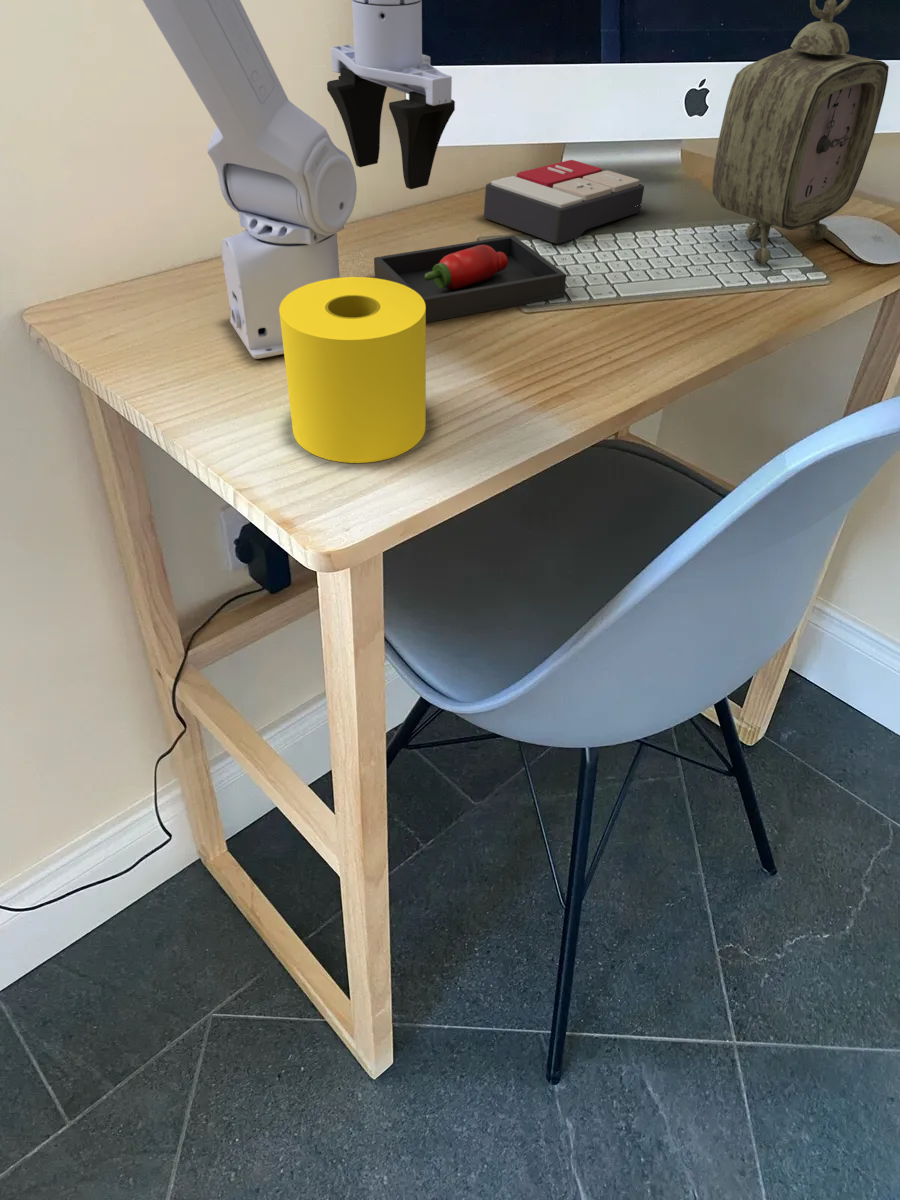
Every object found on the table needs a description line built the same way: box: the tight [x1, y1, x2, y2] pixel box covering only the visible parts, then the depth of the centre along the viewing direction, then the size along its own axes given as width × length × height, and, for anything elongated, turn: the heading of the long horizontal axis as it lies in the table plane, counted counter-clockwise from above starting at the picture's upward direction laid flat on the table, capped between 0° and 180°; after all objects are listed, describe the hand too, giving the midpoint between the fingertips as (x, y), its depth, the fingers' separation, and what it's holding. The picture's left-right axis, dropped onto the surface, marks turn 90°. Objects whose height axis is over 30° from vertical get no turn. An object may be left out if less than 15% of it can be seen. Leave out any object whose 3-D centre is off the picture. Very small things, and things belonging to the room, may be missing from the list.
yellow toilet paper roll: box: [279, 276, 427, 464], centre depth 66 cm, size 10×10×9 cm
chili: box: [424, 245, 508, 290], centre depth 86 cm, size 10×3×3 cm, turn 130°
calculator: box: [483, 159, 645, 245], centre depth 102 cm, size 11×4×15 cm
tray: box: [373, 234, 567, 323], centre depth 87 cm, size 15×11×2 cm
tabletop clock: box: [711, 0, 890, 265], centre depth 89 cm, size 14×9×25 cm, turn 131°
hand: (391, 175), depth 83 cm, fingers open, 7 cm apart
